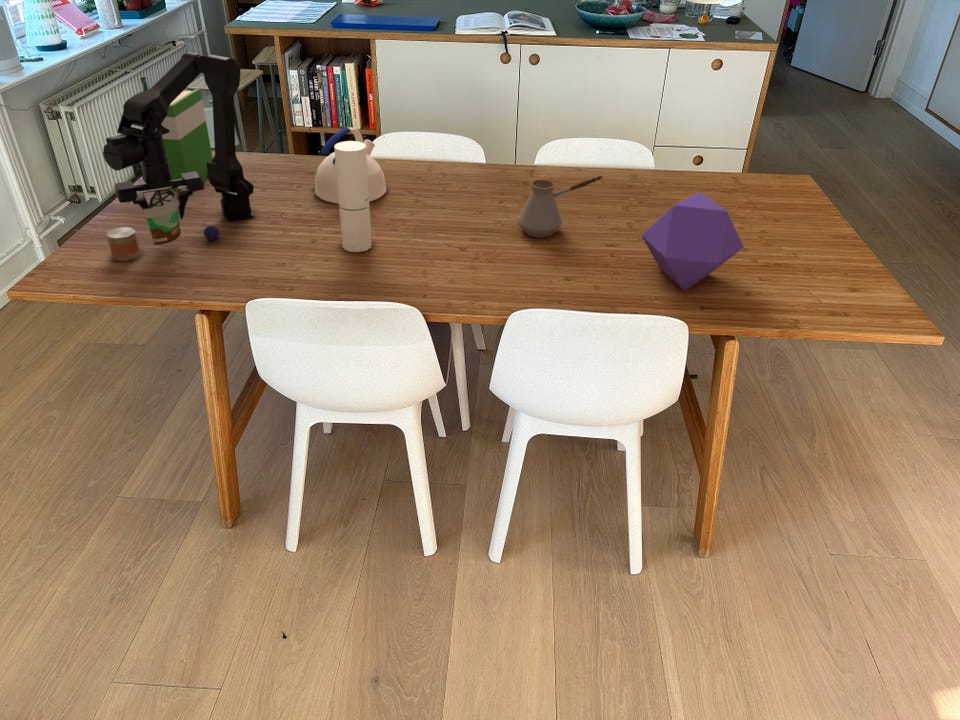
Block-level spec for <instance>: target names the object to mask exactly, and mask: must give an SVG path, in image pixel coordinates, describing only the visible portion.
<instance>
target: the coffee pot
mask: <svg viewBox="0 0 960 720" xmlns="http://www.w3.org/2000/svg"><path fill="white" fill-rule="evenodd" d="M603 178H604V177H603V175H598V176H596V177H592V178H591V179H587V180H583V181H581V182H579V183H576V184H574V185H572V186H569V187H567V188H565V189H562V190H559V191H556V192H554V189H555V188H556V183H555V182H553V181H552V180H549V179H534V180H531V181H530V183H529V186H530V187H531V192H530V194H529V196H528V198H527V200H526V201H525V204H524V206H523V207H522V209H521V211H520V213H519V215H518V217H517V223H518V226H519V227H520V228H521V230H522V231H524V233H525V234H526V235H528V236H531V237H536V238H546V237H550V236H552V235H553V234H555V233H556V232H557V231H558V230H559V229H560V228H561V226H562V224H563V222H562V217H561V214H560V212H559V209H558V205H557V203H556V199H555V198H556V197H558V196H560V195H563V194H566V193H568V192H570V191H575V190H578V189H580V188H583V187H587V186H588V185H589V184H592V183H596V181H600V180H601V183H602V184H603V185H604V184H605V181H604V179H603ZM553 192H554V193H553Z"/></svg>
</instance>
